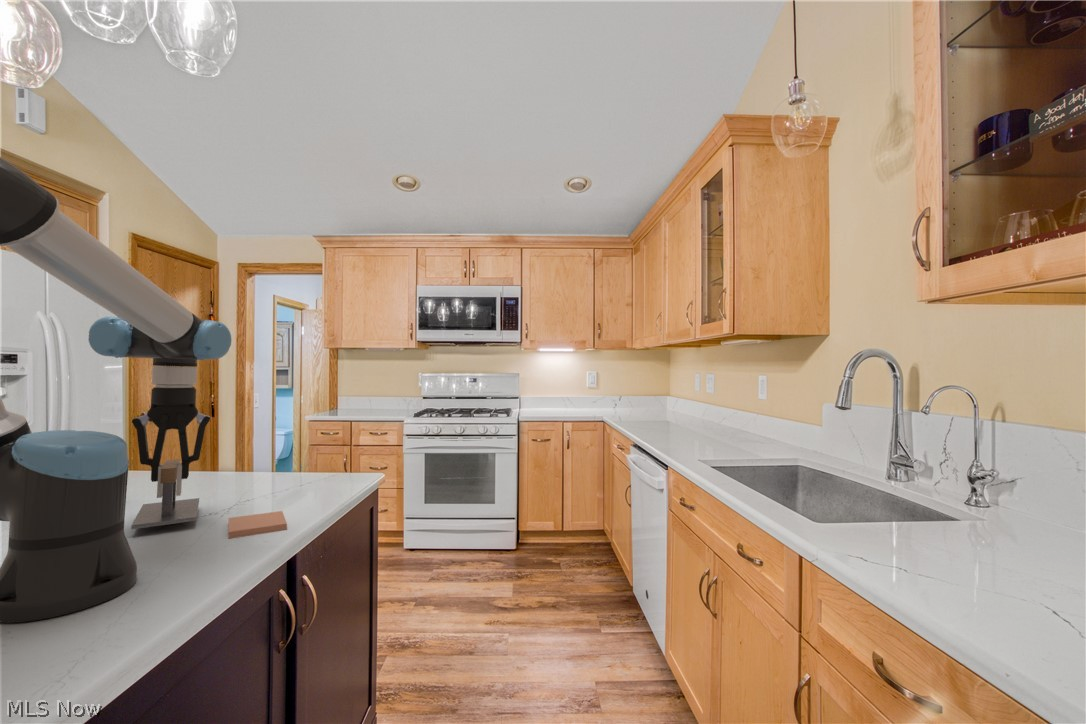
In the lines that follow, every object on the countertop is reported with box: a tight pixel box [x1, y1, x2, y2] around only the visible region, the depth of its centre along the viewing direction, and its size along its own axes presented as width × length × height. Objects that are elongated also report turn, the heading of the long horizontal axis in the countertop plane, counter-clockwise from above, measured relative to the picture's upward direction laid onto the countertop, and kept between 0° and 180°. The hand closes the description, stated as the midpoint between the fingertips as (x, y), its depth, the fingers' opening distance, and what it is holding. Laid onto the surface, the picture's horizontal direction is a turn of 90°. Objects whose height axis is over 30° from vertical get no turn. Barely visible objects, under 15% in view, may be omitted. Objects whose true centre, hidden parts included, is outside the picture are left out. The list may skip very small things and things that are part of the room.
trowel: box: [130, 458, 200, 530], centre depth 97 cm, size 16×10×11 cm, turn 36°
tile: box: [227, 510, 288, 539], centre depth 95 cm, size 2×10×10 cm
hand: (169, 495), depth 97 cm, fingers closed on trowel, 2 cm apart
